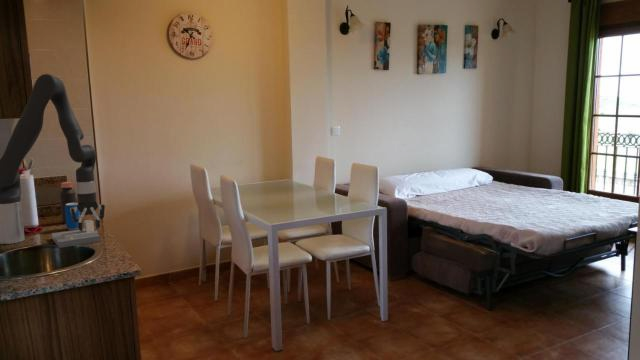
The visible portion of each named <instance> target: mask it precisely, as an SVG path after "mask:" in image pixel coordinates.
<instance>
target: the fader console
mask: <svg viewBox="0 0 640 360" xmlns="http://www.w3.org/2000/svg"><path fill="white" fill-rule="evenodd" d="M82 230H83V231H80V230H79V229H77V230H67V231H66V230H65V231H59V232H52V233H51V239H52V240H53V242H54V244H55V245H56V246H57V247H58V248H60V249H61V248H67V247H73V246H80V245H86V244H93V243H98V242H99V243H100V242H101V235H100V234H99V232H98V231H97V230H94V232H88V233H86V232H85V228H82Z"/></svg>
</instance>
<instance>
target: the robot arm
mask: <svg viewBox="0 0 640 360" xmlns="http://www.w3.org/2000/svg"><path fill="white" fill-rule="evenodd" d="M67 93H68V92H67V90H66V87H65V83H64V82H63V81H62V80H61V79H60V78H58V77H57V76H54V75H52V74H49V73H44V74H41V75H39V77H37V78H36V81H35V83H34V85H33V87H32V90H31V93H30V95H29V98H28V101H27V103H26V105H25V107H24V109H23V110H22V113H21V115H20V117H19V119H18V120H17V122H16V125H15V126H14V129H13V131H12V133H11V136H10V138H9V141H7V142H8V143H7V145H6V148H5V150H4V153H3V155H2V156H1V158H0V245H8V244H9V245H10V244H18V243H22V242H23V241H25V231H24V228H25V227H24V221H23V211H22V210H23V209H22V200H21V196H22V190H21V189H22V187H21V177H20V172H19V170H20V167H21V165H22V163H23V160H24V159H25V158H26V156H27V154H28V153H29V152H30V151H31V149H33V147H34V145H35V143H36V142H37V140H38V138H39V136H40V134H41V132H42V130H43V125H44V116H45V111H46V107H47V106H48V103H49V101H51V103H52V104H53V106H54V108H55V110H56V114H57V119H58V123H59V126H60V129H61V132H62V133H63V135H64V138H65V139H66V145H67V149H68V155H69V157H70V159H72V161H74V162H75V163H81V164H80V166H79V167H78V168H76V170H75V181H76V186H75V188H76V190H75V193H76V197H77V198H76V199H77V201H76V202H77V203H78V205H77V207H75V208H70V211H71V215H72V220H73V221H74V222H77V223H78V229H77V230H80V231H83V230H82V229H83V222H82V221H83V218H84V217H85V216H88V215H90V216H91V215H93V217H94V219H95V220H94V222H95V229H97V230H98V229H99V228H100V227H101V221H100V220H101V219H104V218H105V209H106V205H105V204H103V203H101V204H99V203H98V202H97V201H98V200H97V193H96V192H97V191H96V189H97V188H96V182H95V173H94V171H95V170H94V169H95V167H96V160H97V152H96V149H95V147H94V146H93V145H90V144H83V145H82V144H81V141H82V140H83V139H84V138H85V137H84V136H85V135H84V132H83V130H82V129H81V126H80V124H79V122H78V120H77V118H76V115H75V113H74V111H73V108H72V106H71V103H70V100H69V98H68V97H69V96H68V94H67ZM77 209H78V210H79V211H80V214H79V217H78V219H76V215H75V213H76V210H77ZM97 209H99V215H98V213H97V212H96V211H97Z"/></svg>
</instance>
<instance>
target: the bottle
mask: <svg viewBox="0 0 640 360" xmlns="http://www.w3.org/2000/svg"><path fill="white" fill-rule="evenodd" d="M60 184H61V185H60V187H61V189H62V190H61V191H60V192H59V198H60V199H59V200H60V209H61V220H62V221H61V222H62V224H65V225H66V216H65V206H66V204H67V203H77V201H76V199H77V198H76V191H75V190H73V182H72V181H63V182H61V183H60Z"/></svg>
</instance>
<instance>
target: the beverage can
mask: <svg viewBox="0 0 640 360" xmlns="http://www.w3.org/2000/svg"><path fill="white" fill-rule="evenodd" d="M77 205H78V202H76V203H67V204H66V206H65V216H66V224H65V226H66V227H65V228H66V229H68V231H72V230H79V229H78V223H77V222H74V221H73V220H72V215H71V211H70V208H75V207H77ZM79 214H80V211H79V210H78V209H77V210H76V213H75V215H76V219H78V217H79Z"/></svg>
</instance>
